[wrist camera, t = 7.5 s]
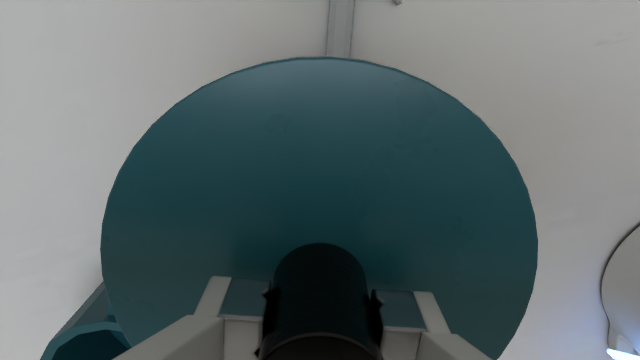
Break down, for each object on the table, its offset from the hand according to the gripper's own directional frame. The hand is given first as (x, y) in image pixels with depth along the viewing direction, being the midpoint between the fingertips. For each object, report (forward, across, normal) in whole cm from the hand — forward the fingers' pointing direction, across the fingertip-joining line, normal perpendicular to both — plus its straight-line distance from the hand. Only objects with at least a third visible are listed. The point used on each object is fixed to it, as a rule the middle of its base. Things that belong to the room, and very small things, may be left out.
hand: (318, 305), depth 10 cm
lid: (+2, 0, 0) cm, 2 cm away
